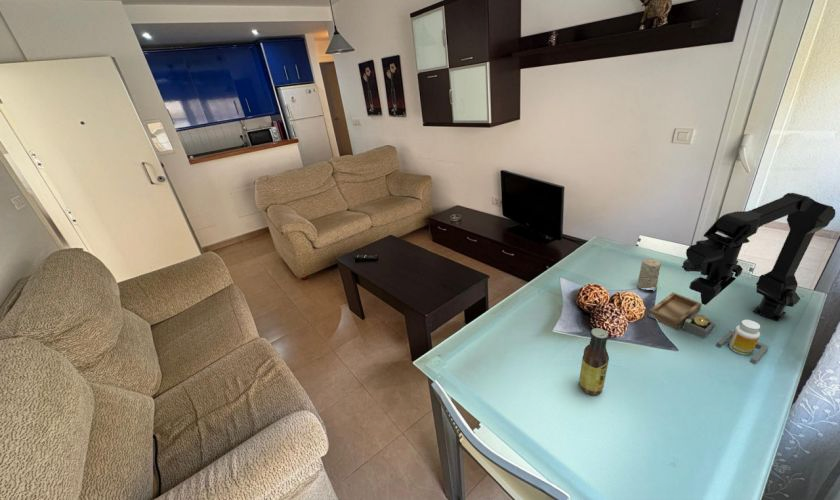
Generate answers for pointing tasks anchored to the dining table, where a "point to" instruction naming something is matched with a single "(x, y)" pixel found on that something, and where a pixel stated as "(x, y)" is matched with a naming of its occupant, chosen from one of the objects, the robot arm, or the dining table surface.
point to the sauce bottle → (594, 363)
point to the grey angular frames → (710, 326)
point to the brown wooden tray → (675, 310)
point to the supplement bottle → (745, 337)
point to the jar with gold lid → (700, 321)
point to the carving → (649, 273)
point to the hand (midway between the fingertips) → (708, 300)
